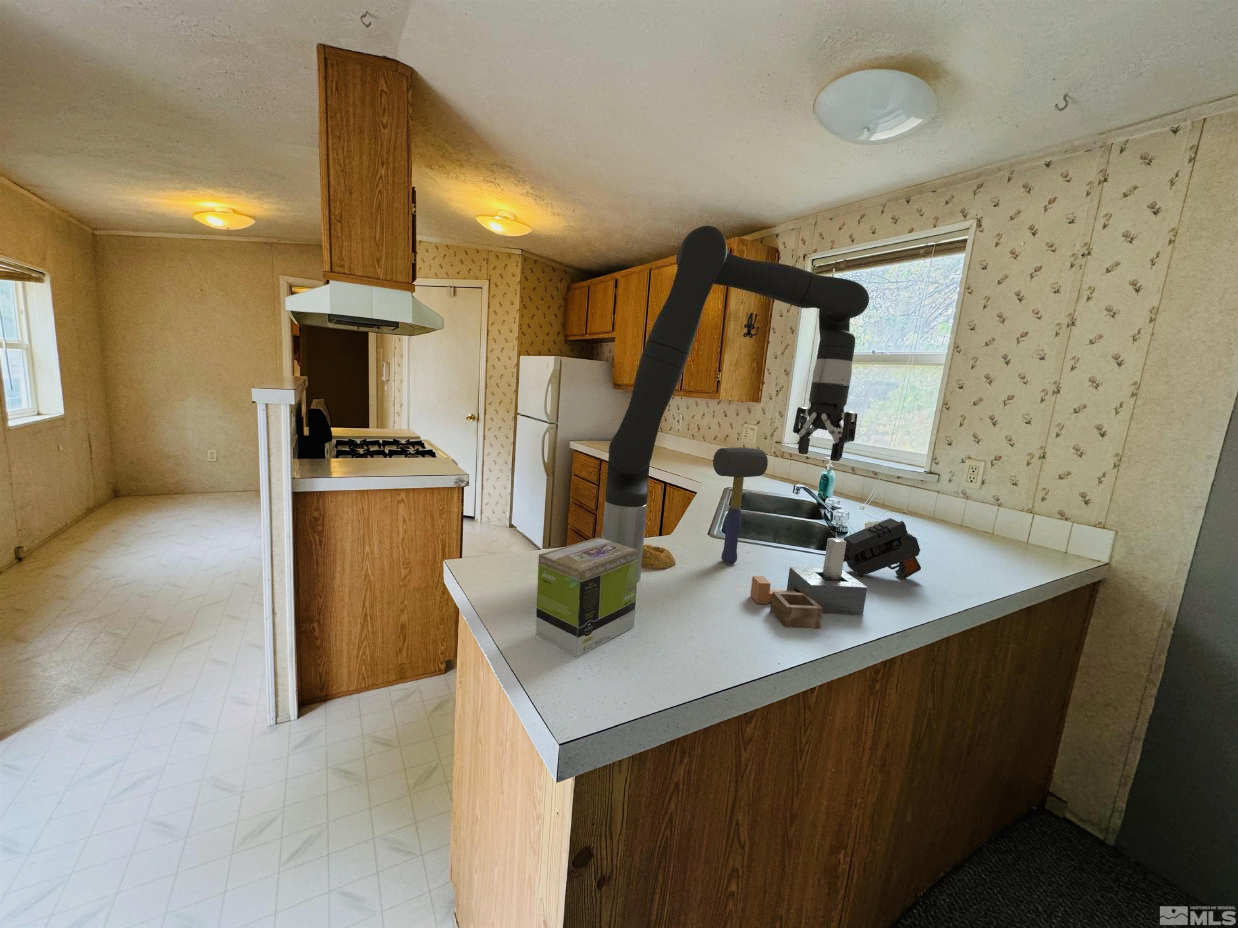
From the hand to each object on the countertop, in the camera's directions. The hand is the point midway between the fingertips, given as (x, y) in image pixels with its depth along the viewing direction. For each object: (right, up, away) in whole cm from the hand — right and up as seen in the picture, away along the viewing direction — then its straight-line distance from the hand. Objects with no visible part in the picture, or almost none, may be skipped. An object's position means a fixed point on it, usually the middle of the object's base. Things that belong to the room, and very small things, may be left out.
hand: (818, 457), depth 107 cm
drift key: (-10, -30, -3) cm, 32 cm away
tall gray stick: (+1, -31, -2) cm, 31 cm away
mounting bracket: (+38, -29, +38) cm, 61 cm away
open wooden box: (-9, -32, -11) cm, 35 cm away
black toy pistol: (+25, -32, +18) cm, 44 cm away
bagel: (-35, -26, +14) cm, 46 cm away
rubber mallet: (-16, -27, +18) cm, 36 cm away
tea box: (-49, -31, -22) cm, 62 cm away
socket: (+1, -31, -2) cm, 31 cm away
